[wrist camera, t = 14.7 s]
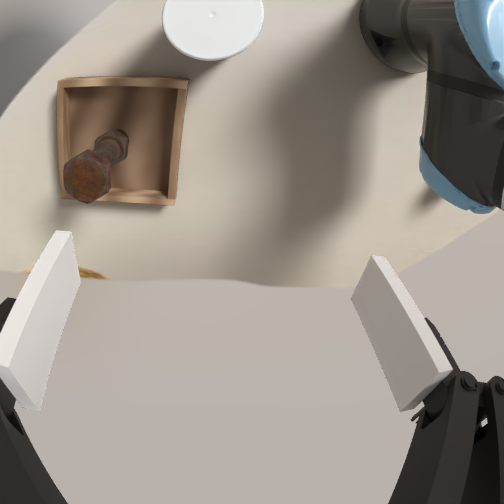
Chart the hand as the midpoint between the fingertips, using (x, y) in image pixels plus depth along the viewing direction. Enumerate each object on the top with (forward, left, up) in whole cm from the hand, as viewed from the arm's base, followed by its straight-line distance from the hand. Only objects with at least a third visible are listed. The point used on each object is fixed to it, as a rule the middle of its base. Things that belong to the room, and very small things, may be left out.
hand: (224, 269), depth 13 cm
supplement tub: (+2, -12, -35) cm, 37 cm away
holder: (+13, +5, -35) cm, 37 cm away
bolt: (+13, +5, -34) cm, 37 cm away
